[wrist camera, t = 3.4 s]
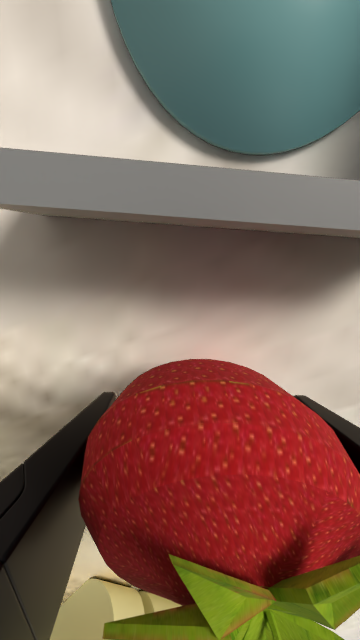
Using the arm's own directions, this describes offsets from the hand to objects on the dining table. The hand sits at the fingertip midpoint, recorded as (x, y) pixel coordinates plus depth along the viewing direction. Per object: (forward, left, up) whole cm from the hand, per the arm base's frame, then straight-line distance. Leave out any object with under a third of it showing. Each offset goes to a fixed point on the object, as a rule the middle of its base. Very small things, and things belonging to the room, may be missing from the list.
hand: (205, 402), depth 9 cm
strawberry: (0, 0, -3) cm, 3 cm away
